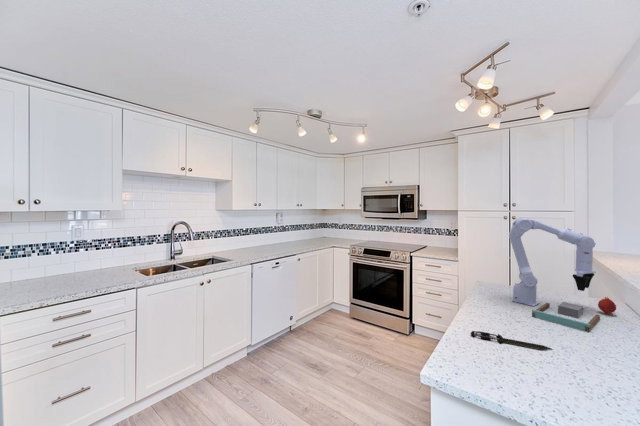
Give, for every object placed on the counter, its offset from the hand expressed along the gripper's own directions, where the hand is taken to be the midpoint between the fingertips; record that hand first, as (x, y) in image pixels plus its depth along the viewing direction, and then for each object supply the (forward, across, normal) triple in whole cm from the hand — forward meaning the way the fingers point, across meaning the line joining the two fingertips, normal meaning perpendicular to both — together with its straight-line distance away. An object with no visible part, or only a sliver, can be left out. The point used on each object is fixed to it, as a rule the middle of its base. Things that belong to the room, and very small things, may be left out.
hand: (583, 288), depth 131 cm
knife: (+11, -62, +8) cm, 64 cm away
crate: (+11, -10, +2) cm, 15 cm away
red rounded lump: (+10, +3, -8) cm, 13 cm away
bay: (+10, -18, +2) cm, 20 cm away
